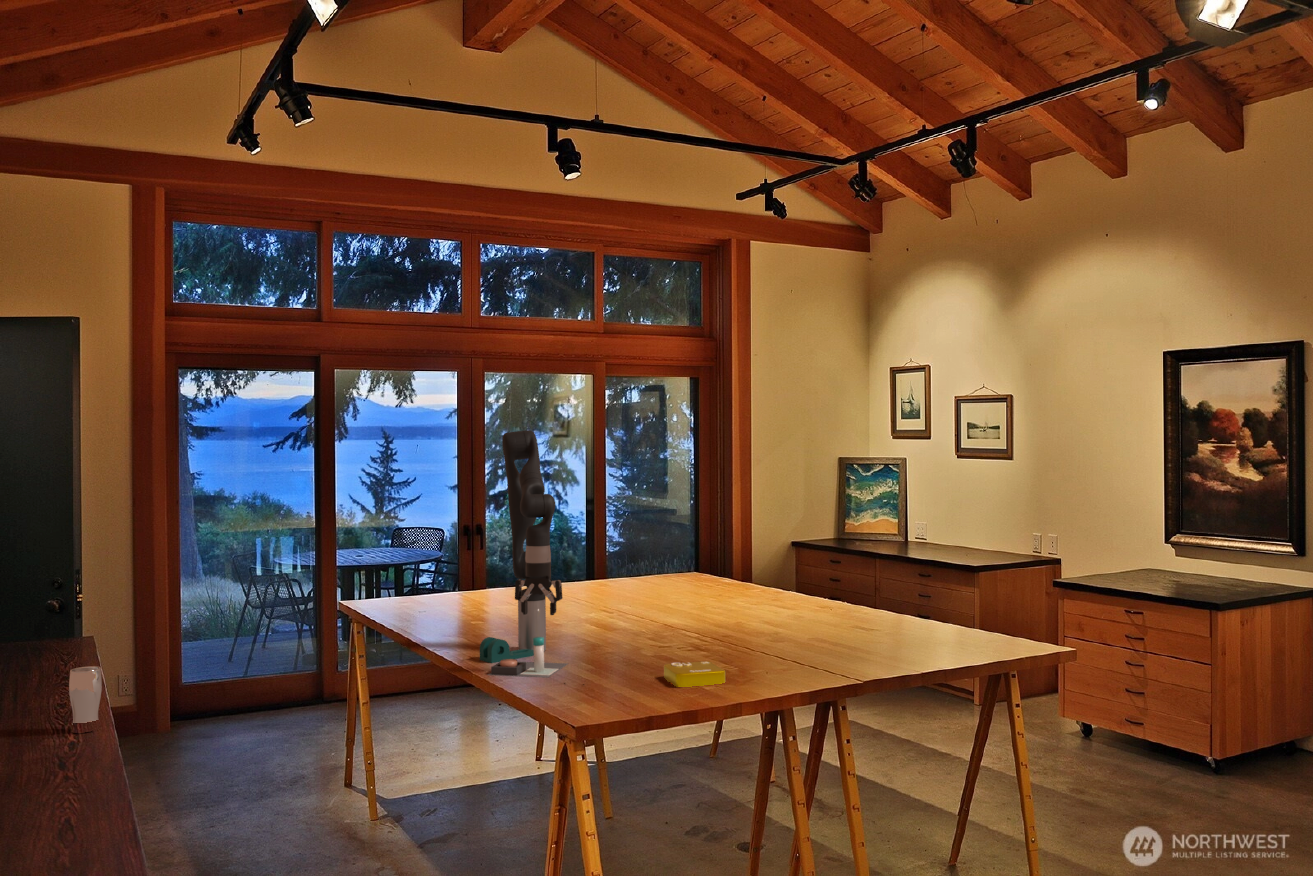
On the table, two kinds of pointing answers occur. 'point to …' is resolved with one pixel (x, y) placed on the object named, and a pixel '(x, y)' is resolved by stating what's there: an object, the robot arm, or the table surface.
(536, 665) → the marker
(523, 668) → the drawing board
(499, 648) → the bracket
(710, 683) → the element tile
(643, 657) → the table surface
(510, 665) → the button
